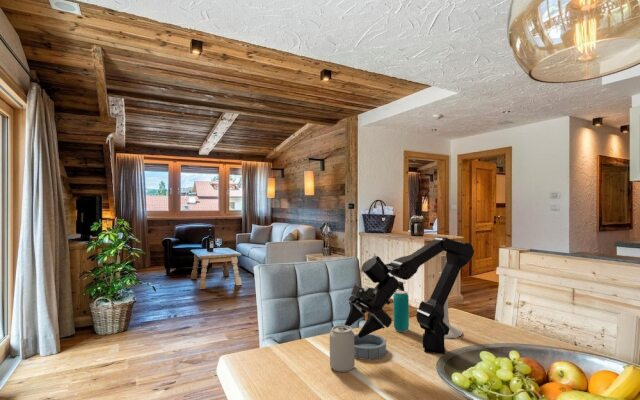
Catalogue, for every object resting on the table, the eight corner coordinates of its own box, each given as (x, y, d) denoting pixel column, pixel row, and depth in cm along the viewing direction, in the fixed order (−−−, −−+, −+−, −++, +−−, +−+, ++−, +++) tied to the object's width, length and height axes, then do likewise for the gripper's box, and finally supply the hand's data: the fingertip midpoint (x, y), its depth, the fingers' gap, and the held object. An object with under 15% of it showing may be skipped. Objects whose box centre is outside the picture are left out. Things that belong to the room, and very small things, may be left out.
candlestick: (425, 336, 131) (424, 255, 132) (428, 325, 143) (427, 251, 143) (462, 340, 126) (460, 257, 127) (462, 329, 138) (461, 252, 139)
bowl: (387, 345, 123) (387, 335, 123) (383, 361, 110) (383, 350, 110) (351, 341, 126) (351, 331, 126) (343, 356, 114) (343, 345, 114)
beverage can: (407, 327, 140) (407, 290, 140) (410, 333, 134) (409, 293, 134) (393, 327, 141) (392, 290, 141) (394, 332, 135) (394, 293, 135)
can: (357, 364, 109) (356, 325, 109) (351, 375, 102) (350, 333, 102) (334, 360, 111) (333, 322, 111) (326, 371, 104) (326, 330, 104)
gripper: (353, 270, 119) (323, 307, 114) (382, 281, 101) (348, 324, 97) (374, 292, 121) (345, 328, 117) (405, 306, 104) (373, 349, 100)
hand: (351, 331), depth 108 cm, fingers open, 9 cm apart
